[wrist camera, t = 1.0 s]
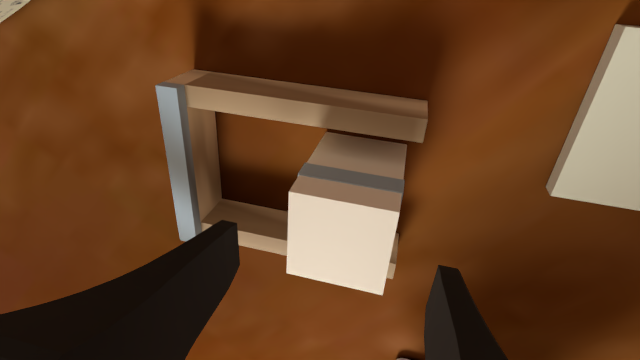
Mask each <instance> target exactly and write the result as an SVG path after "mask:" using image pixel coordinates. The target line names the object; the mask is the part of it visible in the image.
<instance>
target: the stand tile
mask: <svg viewBox="0 0 640 360" xmlns="http://www.w3.org/2000/svg"><path fill="white" fill-rule="evenodd" d="M546 188H547V190H548V192H549V194H550V196H555V197H561V198H567V199H573V200H579V201H585V202H591V203H596V204H602V205H608V206H614V207H620V208H626V209H632V210H638V211H640V26H632V25H621V24H615V27H614V29H613V31H612V34H611V36H610V38H609V41H608V43H607V45H606V48H605V50H604V52H603V55H602V57H601V59H600V62H599V64H598V66H597V69H596V71H595V73H594V76H593V78H592V80H591V83H590V85H589V87H588V90H587V92H586V94H585V97H584V99H583V101H582V104H581V106H580V108H579V110H578V113H577V115H576V117H575V120H574V122H573V124H572V127H571V129H570V131H569V134H568V136H567V138H566V141H565V143H564V145H563V148H562V150H561V152H560V155H559V157H558V159H557V162H556V164H555V166H554V169H553V171H552V173H551V176H550V178H549V180H548V183H547V185H546Z"/></svg>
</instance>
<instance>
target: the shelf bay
mask: <svg viewBox="0 0 640 360" xmlns="http://www.w3.org/2000/svg"><path fill="white" fill-rule="evenodd" d="M155 86H156V92H157V98H158V105H159V111H160V117H161V124H162V130H163V136H164V142H165V149H166V155H167V161H168V168H169V174H170V180H171V186H172V193H173V199H174V205H175V212H176V218H177V224H178V231H179V237H180V240H183V241H188V240H190V239H191V238H193V237H195V236H196V235H198V234H199V233H201V232H203V231H204V230H206V229H207V228H209V227H211V226H212V225H214V224H215V223H217V222H219V221H221V220H226V221H230V222H235V223H237V229H238V245H241V246H245V247H250V248H255V249H259V250H264V251H268V252H273V253H277V254H282V255H286V256H287V238H288V212H287V211H282V210H277V209H272V208H267V207H262V206H257V205H252V204H247V203H242V202H237V201H232V200H227V199H222V192H221V179H220V167H219V155H218V142H217V130H216V118H215V111H218V112H225V113H231V114H238V115H244V116H251V117H257V118H264V119H270V120H277V121H283V122H290V123H296V124H303V125H309V126H315V127H322V128H328V129H335V130H341V131H348V132H354V133H361V134H367V135H374V136H380V137H387V138H393V139H400V140H406V141H413V142H419V143H423V139H424V135H425V130H426V126H427V121H428V101H426V100H418V99H411V98H403V97H396V96H389V95H381V94H374V93H366V92H359V91H351V90H344V89H336V88H329V87H321V86H314V85H307V84H299V83H292V82H284V81H277V80H269V79H262V78H254V77H247V76H239V75H232V74H225V73H217V72H210V71H202V70H195V69H193V70H191V71H188V72H186V73H184V74H181V75H179V76H176V77H174V78H172V79H169V80H167V81H164V82H162V83H160V84H157V85H155ZM398 239H399V234H398V233H395V238H394V243H393V247H392V252H391V257H390V262H389V266H388V271H387V276H386V278H390V279H393V275H394V271H395V266H396V259H397V249H398Z"/></svg>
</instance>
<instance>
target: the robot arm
mask: <svg viewBox="0 0 640 360" xmlns="http://www.w3.org/2000/svg"><path fill="white" fill-rule="evenodd" d="M239 265H240V261H239V245H238V229H237V223H235V222H230V221H226V220H221V221H219V222H217V223H215V224H214V225H212V226H211V227H209V228H207V229H206V230H204V231H203V232H201V233H199V234H198V235H196V236H195V237H193V238H191V239H190V240H188V241H186V242H185V243H183V244H182V245H180V246H178V247H177V248H175V249H173V250H171V251H170V252H168V253H166V254H164V255H162V256H161V257H159V258H157V259H155V260H153V261H151V262H150V263H148V264H146V265H144V266H142V267H140V268H138V269H136V270H134V271H131V272H129V273H127V274H125V275H123V276H120V277H118V278H116V279H113V280H111V281H108V282H106V283H103V284H101V285H98V286H95V287H93V288H90V289H88V290H85V291H82V292H79V293H76V294H73V295H70V296H67V297H64V298H61V299H57V300H54V301H51V302H48V303H44V304H40V305H37V306H33V307H29V308H25V309H21V310H17V311H13V312H9V313H5V314H0V360H185V358H186V356H187V354H188V352H189V351H190V349H191V347H192V346H193V344H194V342H195V340H196V339H197V337H198V336H199V334H200V333H201V331H202V330H203V328H204V326H205V325H206V323H207V322H208V320H209V319H210V317H211V316H212V314H213V313H214V311H215V309H216V308H217V306H218V305H219V303H220V302H221V300H222V298H223V297H224V295H225V294H226V292H227V290H228V289H229V287H230V285H231V283H232V281H233V279H234V276H235V274H236V272H237V270H238V268H239ZM424 343H425V360H508V359H507V357H506V356H505V354H504V353H503V351H502V350H501V348H500V346H499V345H498V343H497V342H496V340H495V339H494V337H493V335H492V334H491V332H490V330H489V328H488V327H487V325H486V323H485V321H484V320H483V318H482V316H481V314H480V312H479V311H478V309H477V307H476V305H475V303H474V301H473V299H472V297H471V295H470V293H469V291H468V289H467V287H466V284H465V282H464V280H463V278H462V276H461V273H460V272H459V270H458V269H456V268H451V267H446V266H441V265H438V269H437V272H436V275H435V279H434V282H433V285H432V289H431V292H430V295H429V299H428V302H427V305H426V313H425V330H424ZM396 360H409V359H405V358H398V359H396Z"/></svg>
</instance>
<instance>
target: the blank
mask: <svg viewBox="0 0 640 360" xmlns="http://www.w3.org/2000/svg"><path fill="white" fill-rule="evenodd" d="M406 151H407V144H401V143H394V142H388V141H382V140H375V139H369V138H362V137H356V136H350V135H343V134H337V133H330V132H326V133H325V135H324V136H323V138H322V139H321V141H320V143H319V144H318V146H317V147H316V149H315V151H314V152H313V154H312V155H311V157H310V158H309V160H308V162H307V163H304V165H303V167H302V168H301V170H300V171H299V173H298V178H297V179H296V181H295V182H294V184H293V186H292V187H291V189H290V190H289V201H288V238H287V273H288V274H293V275H297V276H301V277H306V278H310V279H314V280H319V281H323V282H327V283H332V284H336V285H340V286H345V287H349V288H353V289H358V290H362V291H366V292H371V293H375V294H379V295H383V290H384V286H385V281H386V276H387V271H388V266H389V262H390V257H391V252H392V247H393V243H394V238H395V233H396V228H397V223H398V219H399V214H400V207H401V202H402V197H403V192H404V182H405V180H403V178H404V169H405V160H406Z"/></svg>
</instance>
